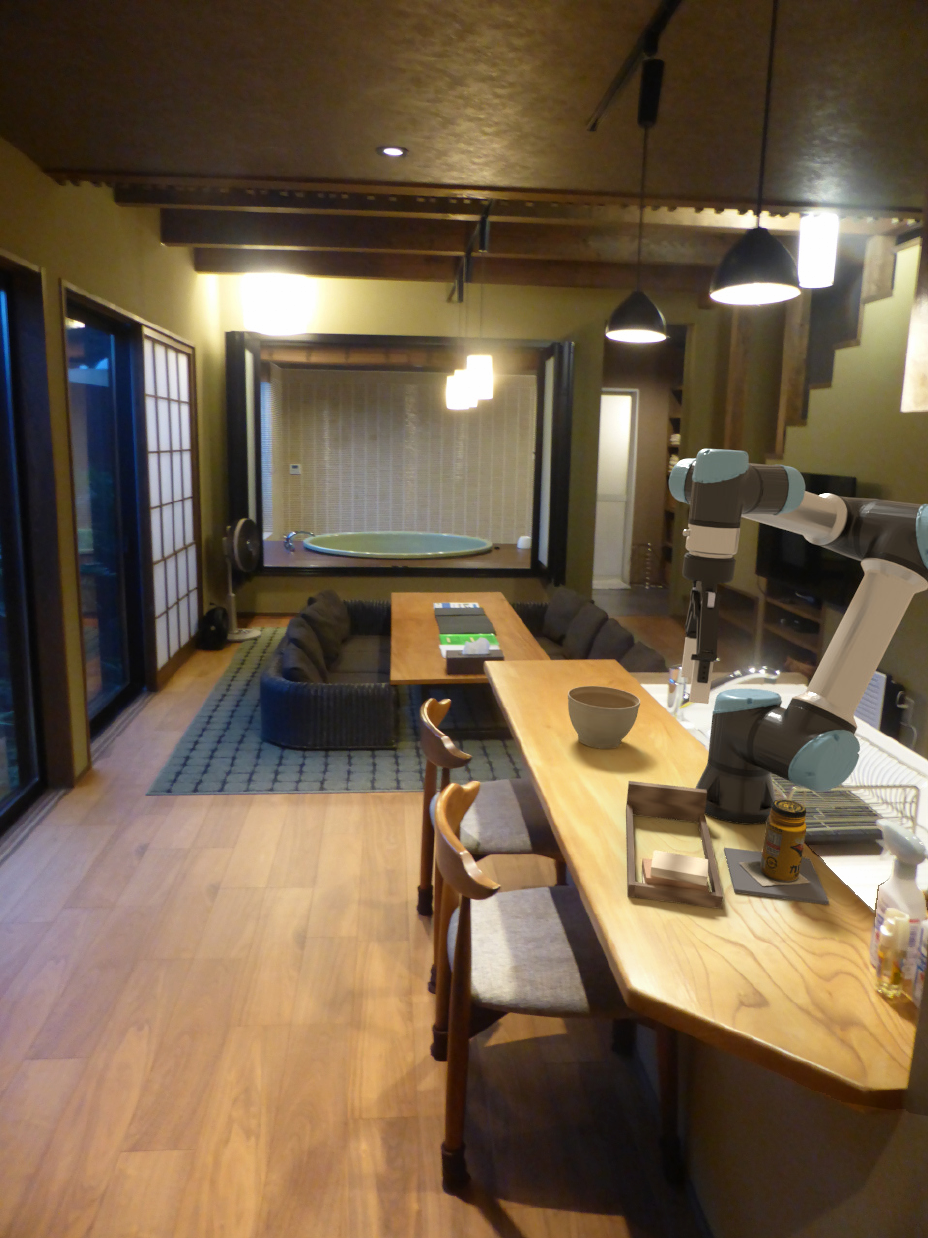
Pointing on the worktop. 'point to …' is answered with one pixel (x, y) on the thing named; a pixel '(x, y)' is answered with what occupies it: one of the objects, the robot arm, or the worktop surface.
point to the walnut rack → (674, 807)
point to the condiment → (781, 846)
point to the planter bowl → (602, 714)
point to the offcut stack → (676, 871)
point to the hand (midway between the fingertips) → (693, 689)
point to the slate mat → (792, 892)
